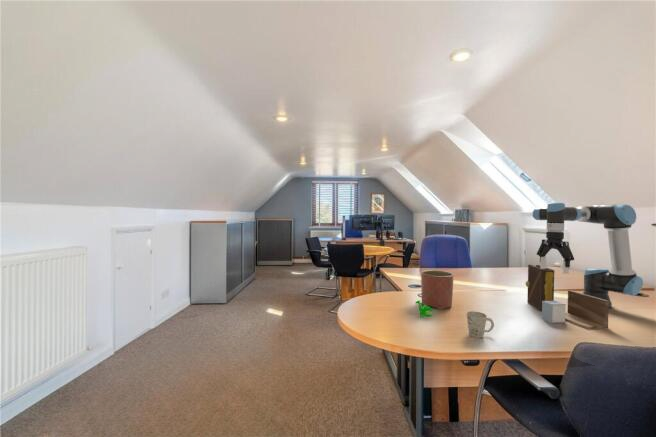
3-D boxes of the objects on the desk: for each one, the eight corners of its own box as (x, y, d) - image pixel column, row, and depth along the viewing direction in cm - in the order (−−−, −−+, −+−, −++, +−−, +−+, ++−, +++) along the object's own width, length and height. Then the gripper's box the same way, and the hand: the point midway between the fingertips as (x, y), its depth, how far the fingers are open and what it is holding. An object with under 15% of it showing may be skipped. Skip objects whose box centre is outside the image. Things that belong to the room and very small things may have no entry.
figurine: (410, 313, 164) (413, 297, 164) (430, 316, 166) (433, 300, 166) (415, 317, 158) (418, 300, 158) (435, 320, 159) (438, 304, 160)
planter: (459, 306, 180) (459, 274, 180) (440, 311, 170) (441, 277, 169) (432, 298, 196) (433, 269, 196) (414, 303, 185) (414, 272, 185)
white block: (554, 318, 160) (555, 300, 160) (565, 322, 154) (565, 304, 154) (541, 319, 159) (542, 301, 159) (551, 323, 153) (552, 304, 153)
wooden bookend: (570, 314, 167) (571, 290, 167) (608, 328, 147) (608, 300, 147) (551, 315, 166) (552, 290, 166) (587, 329, 146) (587, 301, 146)
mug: (462, 332, 140) (463, 311, 140) (487, 331, 142) (487, 311, 141) (472, 339, 132) (473, 317, 132) (499, 338, 133) (499, 317, 133)
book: (557, 313, 169) (558, 270, 168) (540, 312, 170) (541, 270, 170) (537, 302, 190) (538, 264, 190) (523, 301, 192) (524, 263, 192)
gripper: (529, 230, 168) (528, 266, 168) (570, 232, 143) (569, 275, 144) (541, 230, 169) (540, 266, 169) (584, 233, 144) (582, 275, 145)
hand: (553, 270), depth 156 cm, fingers open, 13 cm apart
